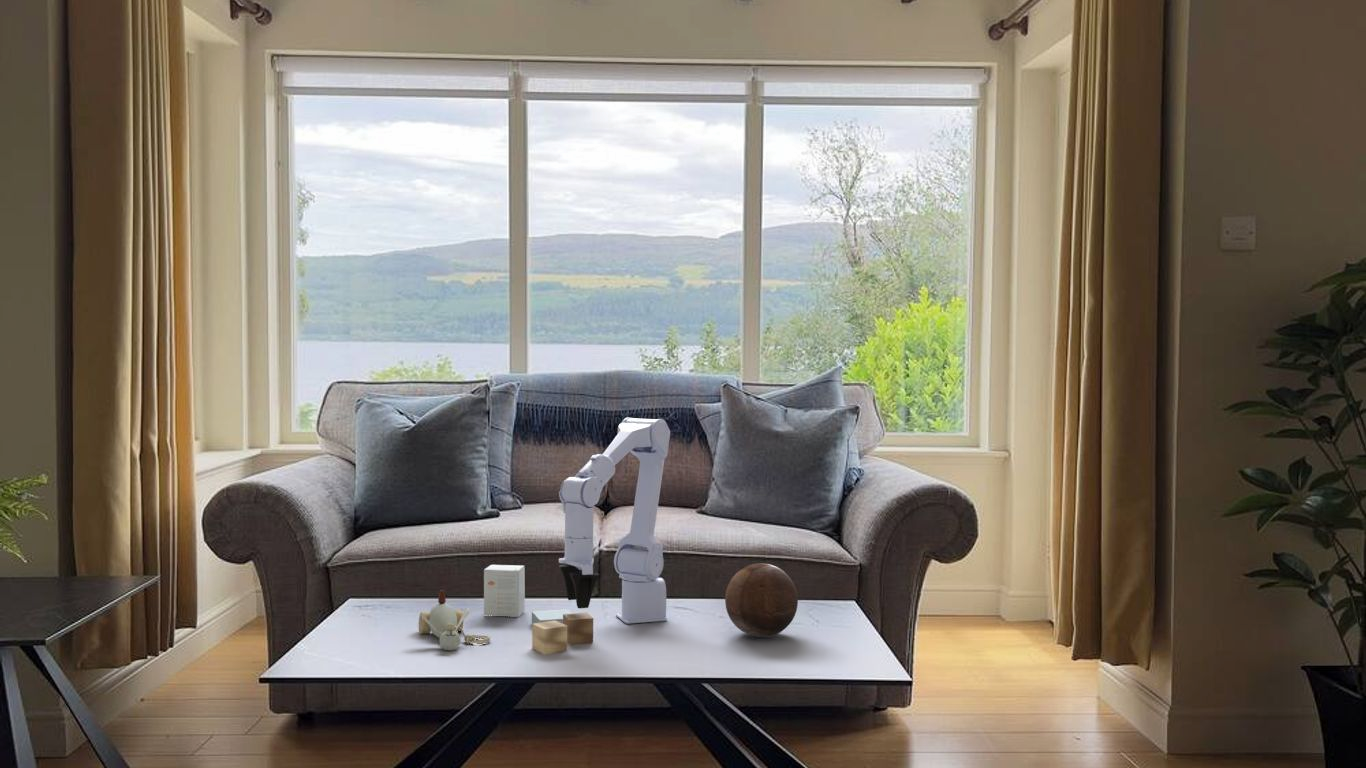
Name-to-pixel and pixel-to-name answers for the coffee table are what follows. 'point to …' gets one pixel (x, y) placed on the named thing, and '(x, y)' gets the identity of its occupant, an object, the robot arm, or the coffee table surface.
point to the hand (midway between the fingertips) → (578, 603)
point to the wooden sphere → (761, 600)
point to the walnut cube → (578, 628)
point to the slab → (549, 615)
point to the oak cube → (549, 637)
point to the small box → (504, 590)
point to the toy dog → (447, 625)
